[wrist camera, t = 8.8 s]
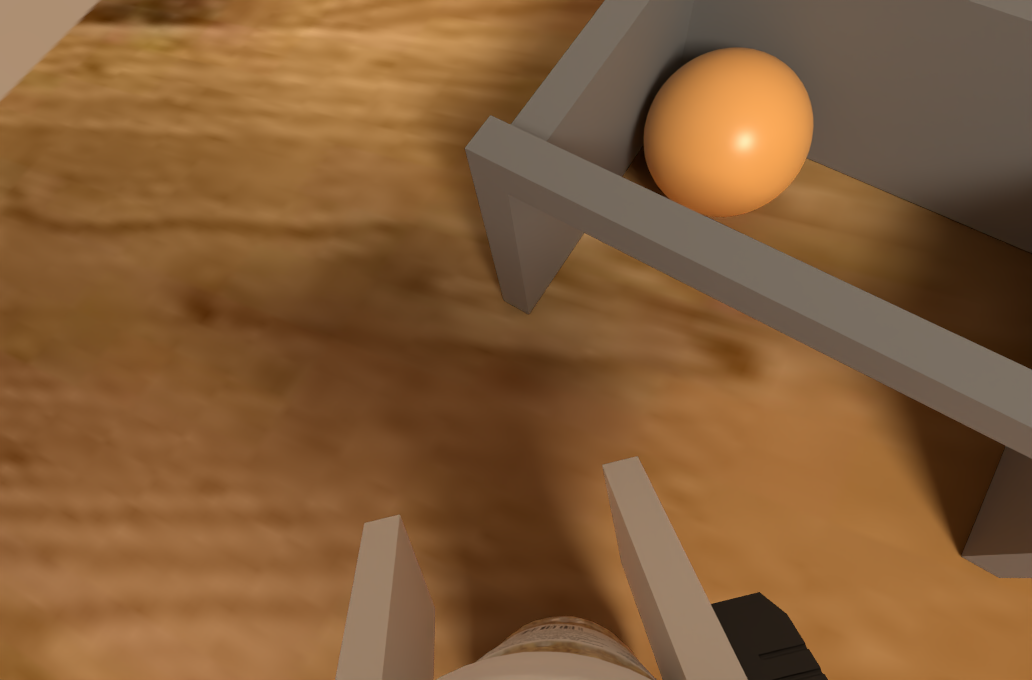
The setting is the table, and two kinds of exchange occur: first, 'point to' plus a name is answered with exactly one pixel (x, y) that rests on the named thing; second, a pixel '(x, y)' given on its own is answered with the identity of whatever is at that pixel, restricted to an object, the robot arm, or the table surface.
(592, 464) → the table surface
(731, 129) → the ball
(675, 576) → the robot arm
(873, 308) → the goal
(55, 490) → the table surface
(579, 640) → the sprinkles bottle
